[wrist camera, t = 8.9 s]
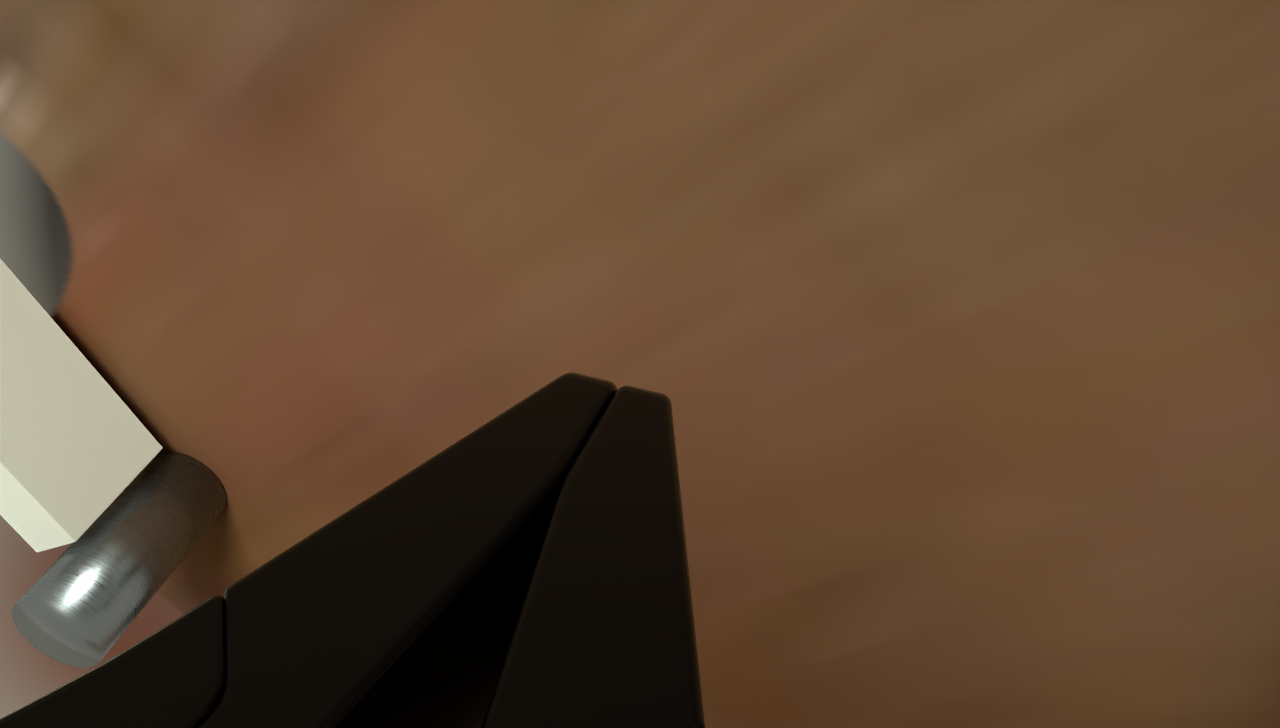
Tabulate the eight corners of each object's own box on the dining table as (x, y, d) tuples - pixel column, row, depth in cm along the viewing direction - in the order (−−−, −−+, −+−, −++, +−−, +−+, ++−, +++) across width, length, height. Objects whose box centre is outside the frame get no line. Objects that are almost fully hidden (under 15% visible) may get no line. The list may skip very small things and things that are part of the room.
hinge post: (241, 499, 32) (118, 653, 27) (197, 526, 33) (72, 677, 29) (176, 439, 31) (40, 588, 27) (133, 469, 32) (-4, 616, 28)
